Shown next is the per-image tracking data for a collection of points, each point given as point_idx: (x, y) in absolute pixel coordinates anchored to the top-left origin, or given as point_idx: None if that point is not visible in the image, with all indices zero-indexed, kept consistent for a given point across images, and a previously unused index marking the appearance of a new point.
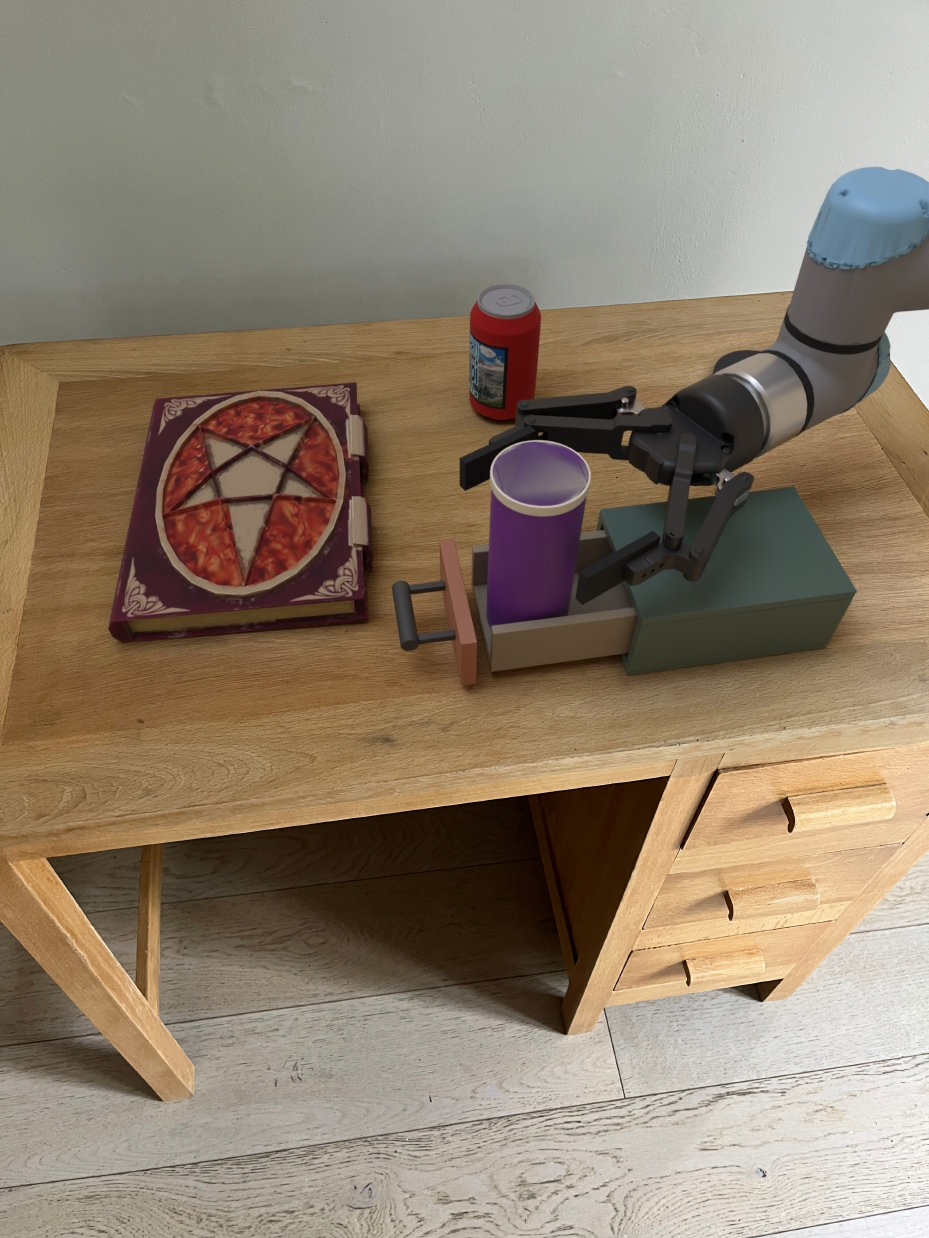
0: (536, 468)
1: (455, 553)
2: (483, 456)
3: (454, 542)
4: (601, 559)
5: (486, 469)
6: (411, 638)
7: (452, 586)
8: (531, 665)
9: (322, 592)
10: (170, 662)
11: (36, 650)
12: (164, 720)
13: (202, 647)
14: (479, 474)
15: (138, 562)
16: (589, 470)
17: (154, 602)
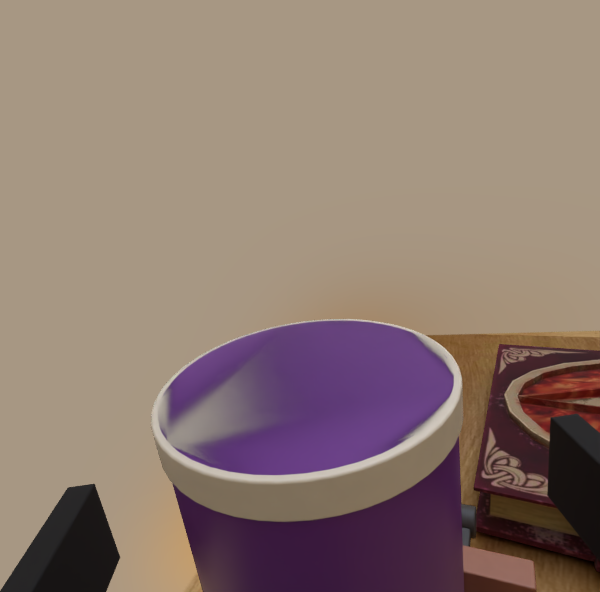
0: (323, 370)
1: (488, 574)
2: (591, 460)
3: (526, 587)
4: (61, 538)
5: (595, 516)
6: None
7: None
8: None
9: (497, 453)
10: (467, 389)
11: (502, 340)
12: None
13: (479, 405)
14: (578, 502)
15: (578, 354)
16: (206, 468)
17: (516, 359)
